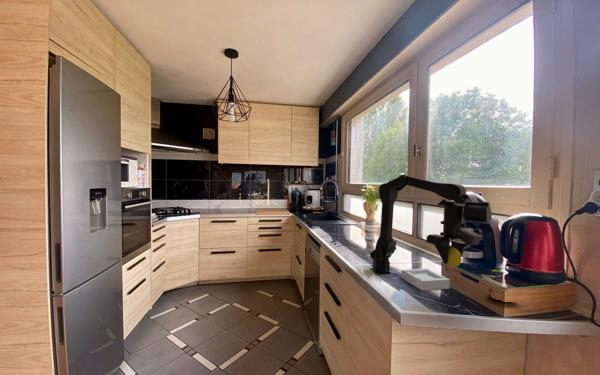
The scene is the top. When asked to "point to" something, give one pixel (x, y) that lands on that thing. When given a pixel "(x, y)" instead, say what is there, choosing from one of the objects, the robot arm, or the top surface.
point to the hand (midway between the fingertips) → (451, 263)
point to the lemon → (454, 258)
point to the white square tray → (425, 279)
